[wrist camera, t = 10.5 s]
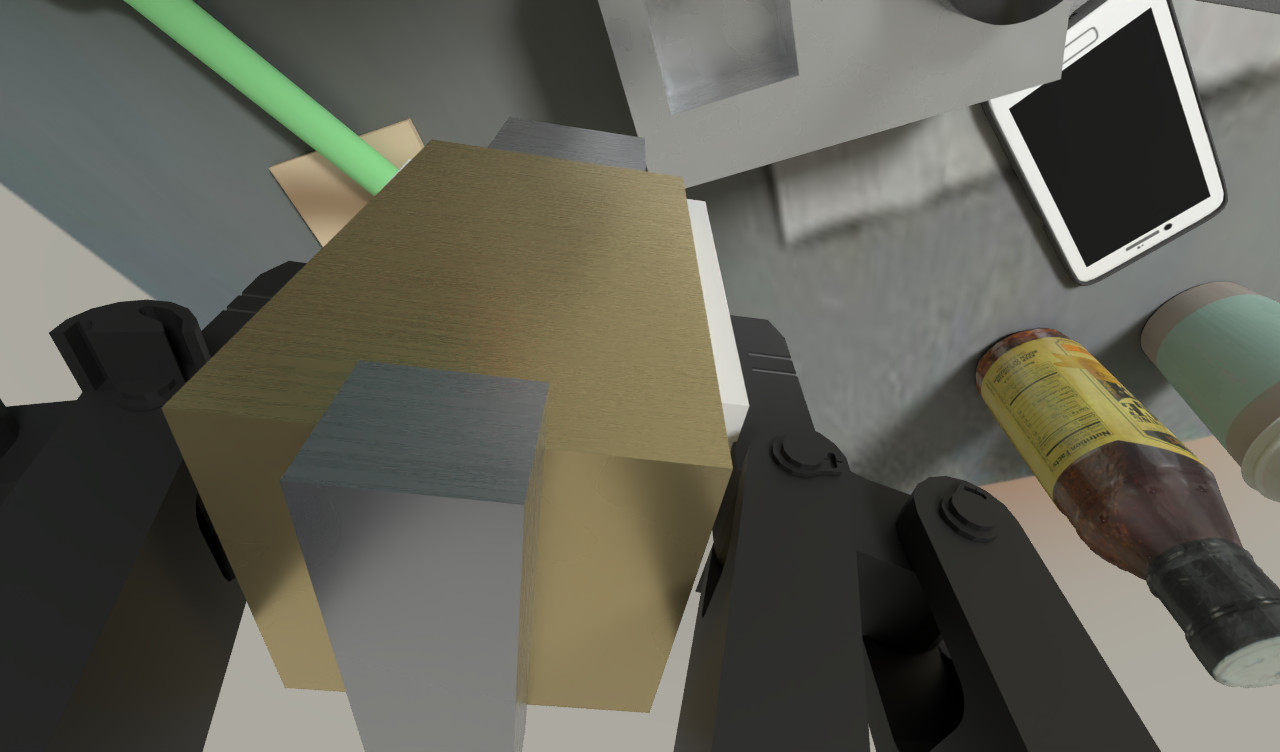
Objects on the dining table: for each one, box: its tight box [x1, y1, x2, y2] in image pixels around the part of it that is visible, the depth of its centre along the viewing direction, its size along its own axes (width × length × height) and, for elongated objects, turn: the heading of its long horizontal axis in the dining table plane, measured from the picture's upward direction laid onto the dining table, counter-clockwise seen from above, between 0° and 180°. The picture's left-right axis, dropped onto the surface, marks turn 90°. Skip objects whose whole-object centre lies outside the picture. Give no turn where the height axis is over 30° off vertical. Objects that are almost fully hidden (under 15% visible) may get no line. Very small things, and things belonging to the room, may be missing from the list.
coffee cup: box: [1141, 282, 1280, 502], centre depth 32 cm, size 8×8×12 cm
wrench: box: [124, 0, 399, 196], centre depth 28 cm, size 25×2×5 cm
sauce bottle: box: [976, 328, 1280, 688], centre depth 30 cm, size 6×6×20 cm
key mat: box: [269, 119, 425, 247], centre depth 31 cm, size 6×8×1 cm
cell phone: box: [981, 0, 1228, 286], centre depth 30 cm, size 8×15×1 cm, turn 42°
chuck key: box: [161, 117, 733, 752], centre depth 11 cm, size 6×5×13 cm
